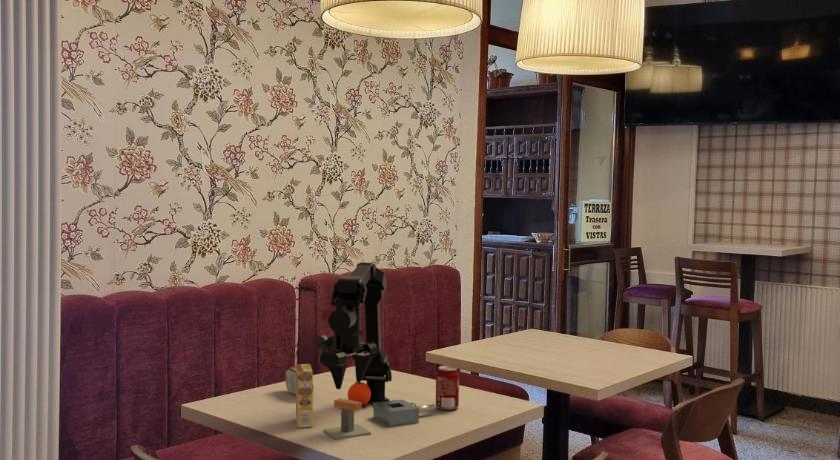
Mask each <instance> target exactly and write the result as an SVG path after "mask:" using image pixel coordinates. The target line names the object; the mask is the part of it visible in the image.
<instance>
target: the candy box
mask: <svg viewBox="0 0 840 460" xmlns="http://www.w3.org/2000/svg"><path fill="white" fill-rule="evenodd" d="M295 366H296V396H295V419H296V424H297V428H312V427H313V426H314V425H313V423H314V419H313V417H314V416H313V415H314V409H313V408H314V405H313V404H314V403H313V402H314V396H313V395H314V379H313V378H314V373H313V367H312V366H311V364H310V363H303V364H302V363H301V364H300V363H299V364H298V363H297V364H295Z"/></svg>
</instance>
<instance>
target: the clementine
mask: <svg viewBox="0 0 840 460" xmlns="http://www.w3.org/2000/svg"><path fill="white" fill-rule="evenodd" d="M370 398H371V390H370V388H369V387H368V385H366V382H363V381H361V382H357V381H355V382H354V383H353V384H351V385H350V387H349V388H348V391H347V400H352V401H357V402H361V407H362V406H366V405H367V404H368V403H369V400H370Z"/></svg>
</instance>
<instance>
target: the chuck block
mask: <svg viewBox="0 0 840 460" xmlns="http://www.w3.org/2000/svg"><path fill="white" fill-rule="evenodd" d="M435 410H436V404H434V403H433V404H425V405H418V406H417V404H416V403H415V402H411V403H410V402H408V401H406V400H404V399H395V400H389V401H385V402H377V403H373V410H372V412H373V418H374V419H376V420H378V421H380V422H381V423H383V424H385V425H386V426H388V427H395V426H402V425H409V424H416V423H419V422H420V415H419V414H420V413H427V412H433V411H435Z"/></svg>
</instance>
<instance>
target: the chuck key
mask: <svg viewBox="0 0 840 460" xmlns="http://www.w3.org/2000/svg"><path fill="white" fill-rule="evenodd" d="M333 403H334V404H333V407H334V408H338V409H340V413H341V414H340V427H341V431H343V432H348V433H349V432H351V431H353V430H354V425H355V412H358V411H360V410H362V406H361V402H357V401H352V400H349V399H346V398H337V399H334V400H333Z"/></svg>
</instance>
